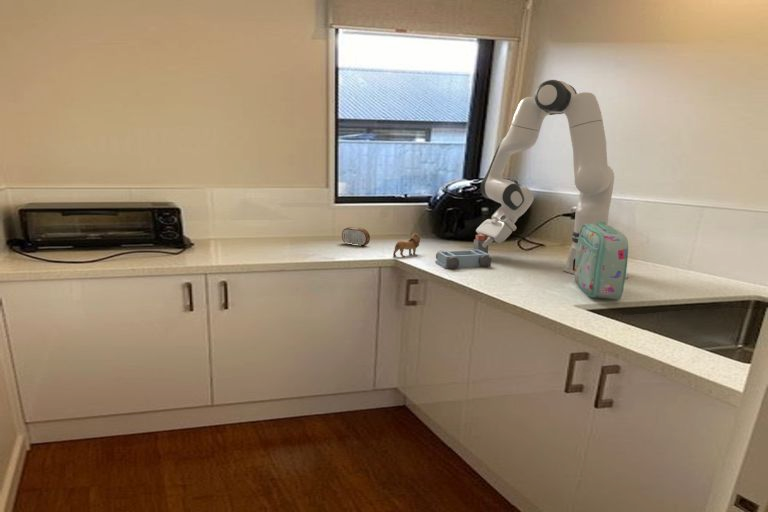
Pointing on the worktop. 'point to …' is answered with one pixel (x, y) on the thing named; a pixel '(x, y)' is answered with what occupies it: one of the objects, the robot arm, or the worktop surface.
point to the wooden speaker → (356, 236)
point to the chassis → (463, 259)
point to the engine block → (478, 242)
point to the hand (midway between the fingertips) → (479, 245)
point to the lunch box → (601, 261)
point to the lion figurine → (408, 245)
